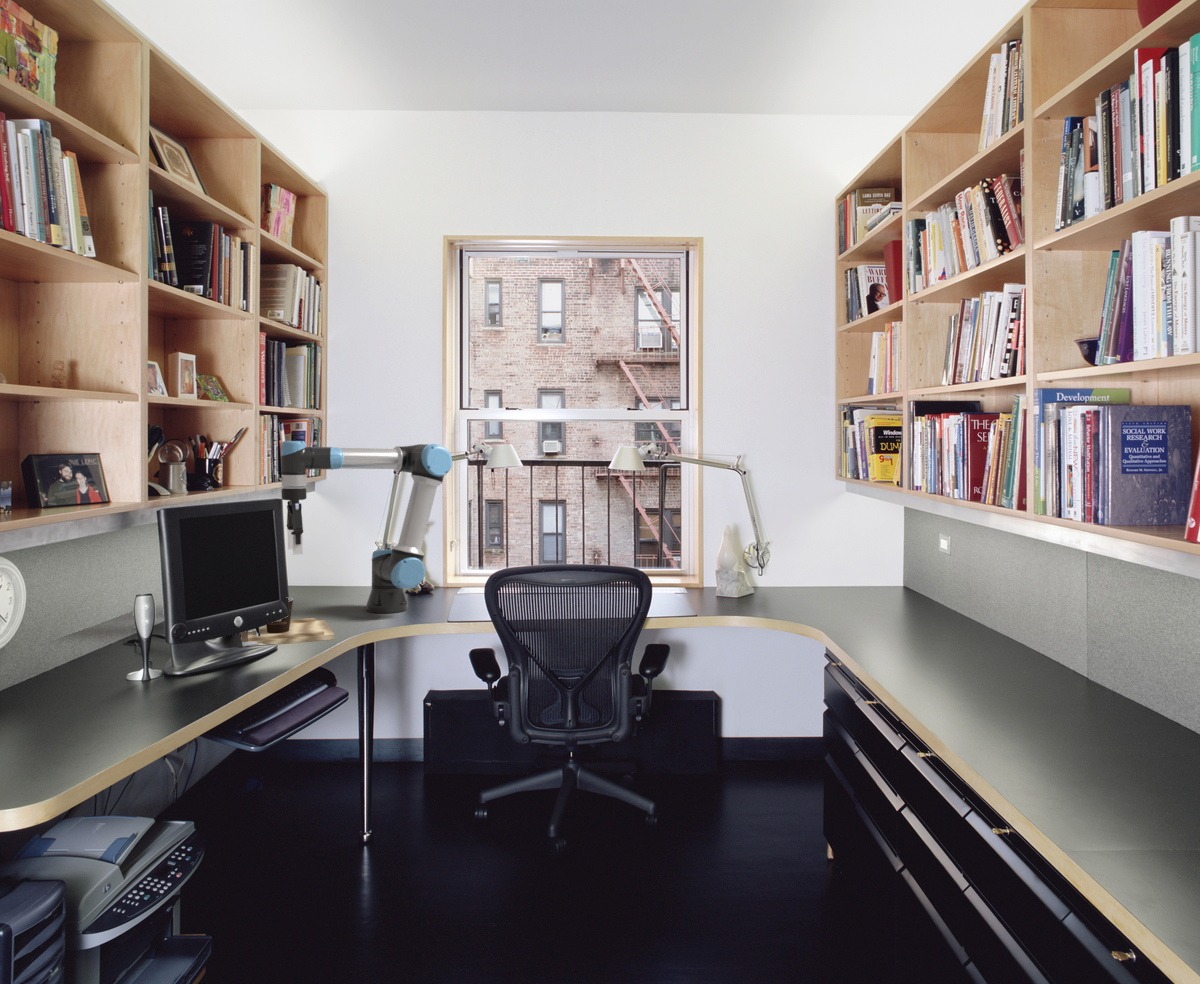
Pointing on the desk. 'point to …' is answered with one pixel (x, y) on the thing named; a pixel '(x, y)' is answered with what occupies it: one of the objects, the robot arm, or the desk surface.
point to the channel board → (293, 633)
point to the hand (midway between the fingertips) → (295, 551)
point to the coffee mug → (281, 622)
